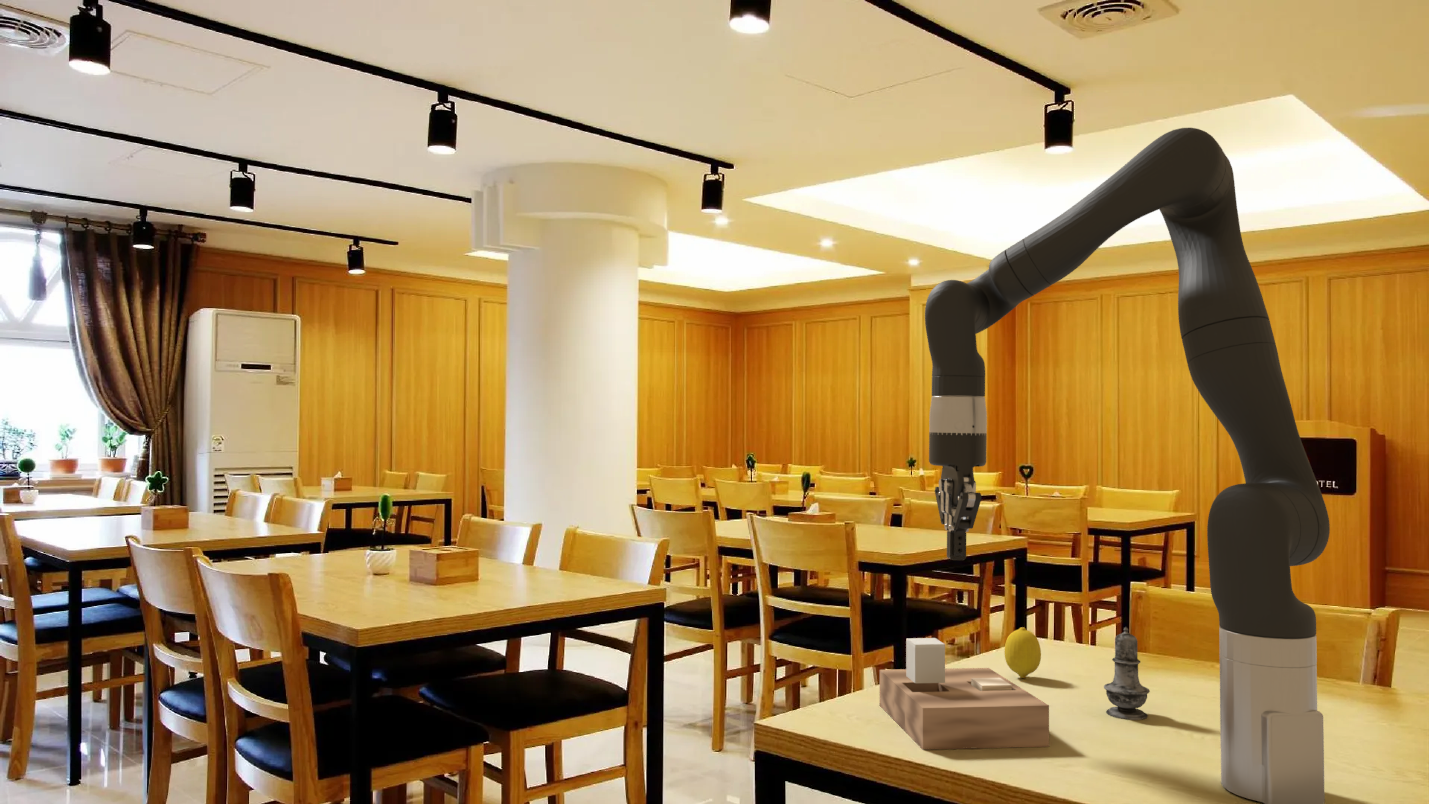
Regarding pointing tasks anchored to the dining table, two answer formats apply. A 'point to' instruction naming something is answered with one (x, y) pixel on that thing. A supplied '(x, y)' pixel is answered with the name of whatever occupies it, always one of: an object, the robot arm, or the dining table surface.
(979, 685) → the peg
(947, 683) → the socket board
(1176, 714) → the dining table surface
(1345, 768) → the dining table surface
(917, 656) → the peg
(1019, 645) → the lemon
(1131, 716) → the salt shaker
